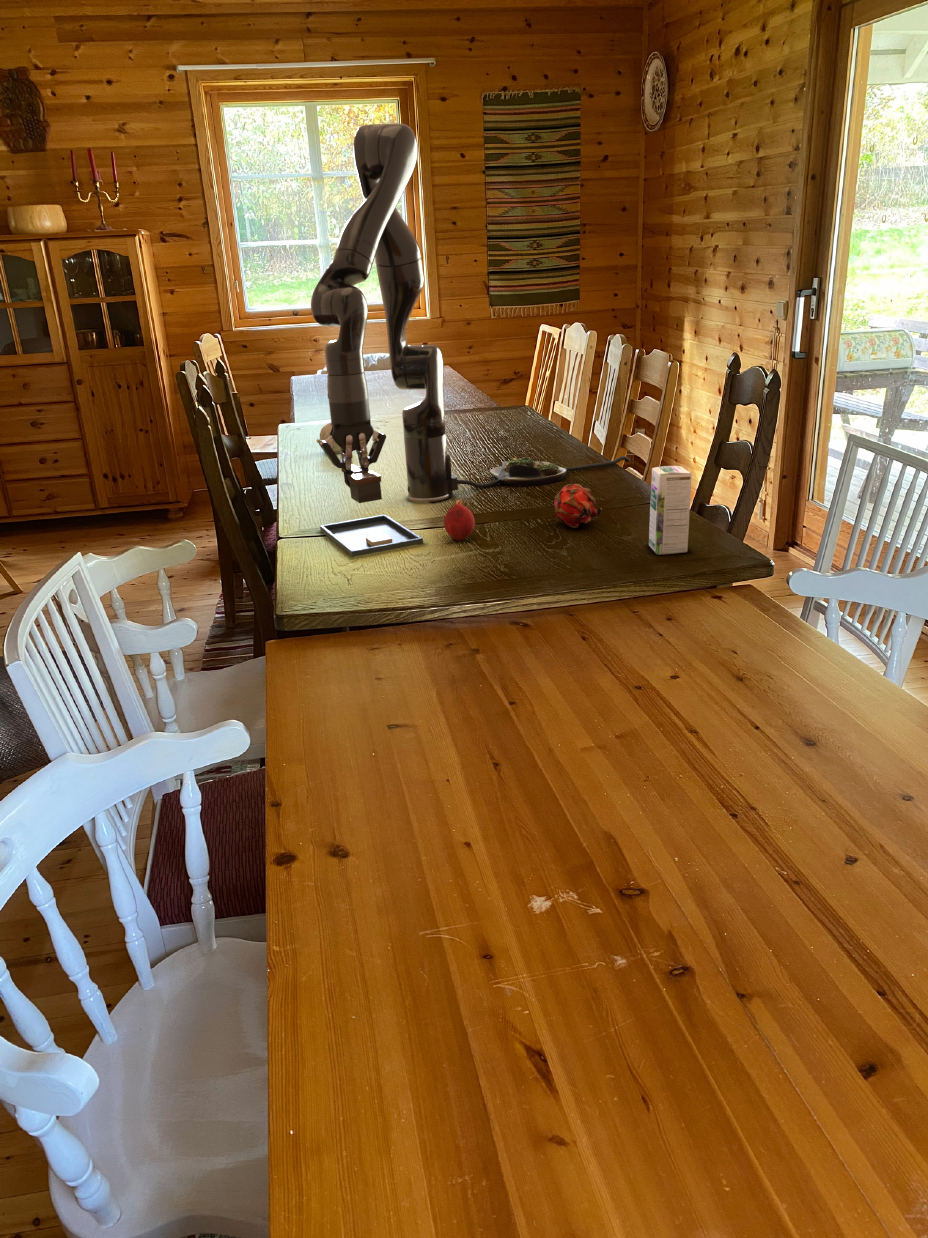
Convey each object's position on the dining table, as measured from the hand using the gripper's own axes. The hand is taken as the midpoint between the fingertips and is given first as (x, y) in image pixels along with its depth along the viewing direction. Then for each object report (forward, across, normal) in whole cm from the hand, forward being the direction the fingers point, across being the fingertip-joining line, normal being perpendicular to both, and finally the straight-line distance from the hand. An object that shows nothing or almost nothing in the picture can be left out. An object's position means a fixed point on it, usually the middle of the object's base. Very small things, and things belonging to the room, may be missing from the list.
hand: (357, 486), depth 180 cm
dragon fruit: (+10, +38, -20) cm, 44 cm away
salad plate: (+10, +49, +20) cm, 54 cm away
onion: (+10, +14, -17) cm, 24 cm away
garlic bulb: (+11, +19, +80) cm, 83 cm away
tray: (+9, 0, -5) cm, 11 cm away
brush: (+2, 0, 0) cm, 2 cm away
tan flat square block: (+9, 0, -10) cm, 13 cm away
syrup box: (+10, +43, -43) cm, 61 cm away
